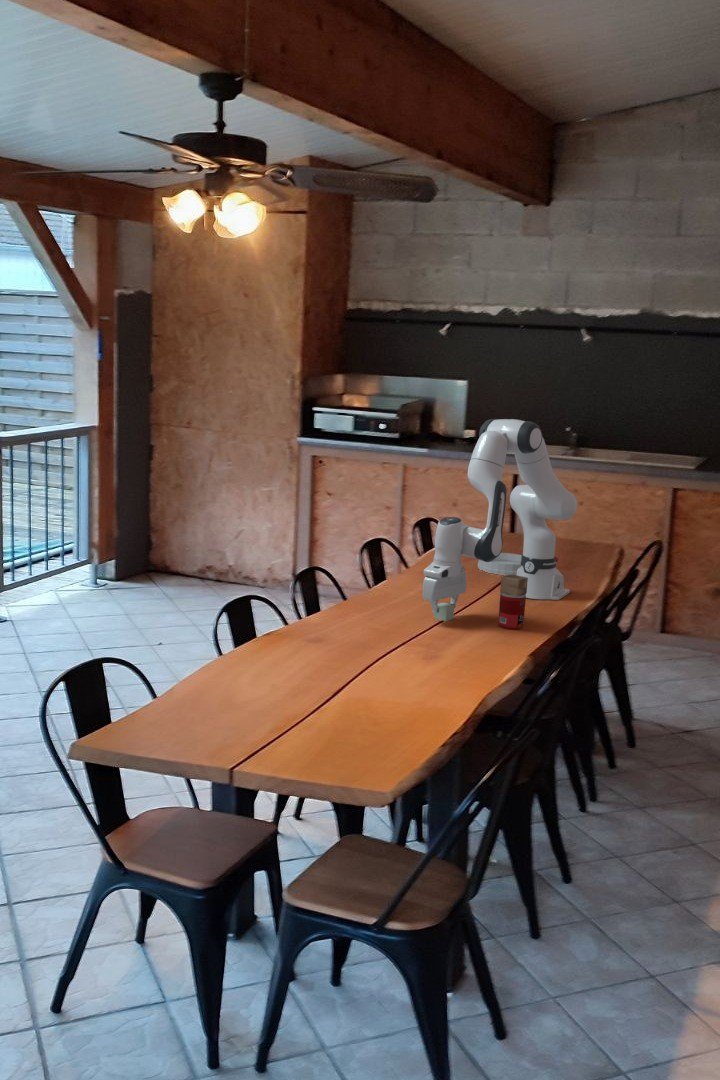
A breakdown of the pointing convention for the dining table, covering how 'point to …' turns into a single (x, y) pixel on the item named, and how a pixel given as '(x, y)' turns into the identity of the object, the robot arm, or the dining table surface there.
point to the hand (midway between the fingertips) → (443, 610)
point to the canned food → (511, 611)
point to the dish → (502, 564)
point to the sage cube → (445, 612)
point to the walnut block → (514, 585)
